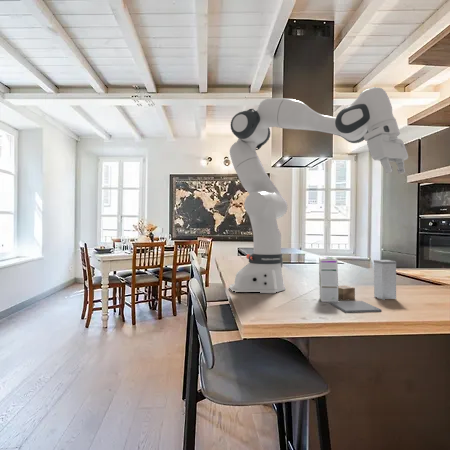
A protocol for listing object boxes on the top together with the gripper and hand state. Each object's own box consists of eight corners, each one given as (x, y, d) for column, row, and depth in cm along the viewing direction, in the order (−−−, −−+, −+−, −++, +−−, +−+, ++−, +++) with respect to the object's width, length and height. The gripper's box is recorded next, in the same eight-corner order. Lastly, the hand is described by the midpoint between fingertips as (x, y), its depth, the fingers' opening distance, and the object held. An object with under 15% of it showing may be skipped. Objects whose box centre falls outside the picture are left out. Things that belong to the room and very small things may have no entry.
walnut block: (343, 300, 110) (343, 288, 110) (333, 297, 115) (333, 286, 115) (354, 299, 112) (354, 287, 112) (344, 296, 117) (344, 285, 117)
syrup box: (338, 302, 107) (338, 258, 107) (320, 302, 108) (320, 258, 108) (336, 298, 112) (336, 257, 112) (318, 298, 113) (318, 256, 113)
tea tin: (382, 300, 110) (382, 261, 110) (373, 296, 115) (373, 260, 115) (396, 299, 111) (396, 261, 111) (387, 296, 116) (387, 259, 116)
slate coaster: (345, 312, 94) (345, 310, 94) (329, 303, 105) (329, 301, 105) (381, 311, 95) (381, 309, 95) (361, 302, 106) (361, 300, 106)
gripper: (388, 140, 118) (399, 176, 116) (360, 135, 104) (372, 176, 103) (406, 132, 113) (418, 170, 111) (379, 126, 100) (392, 168, 98)
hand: (396, 172), depth 107 cm, fingers open, 8 cm apart
